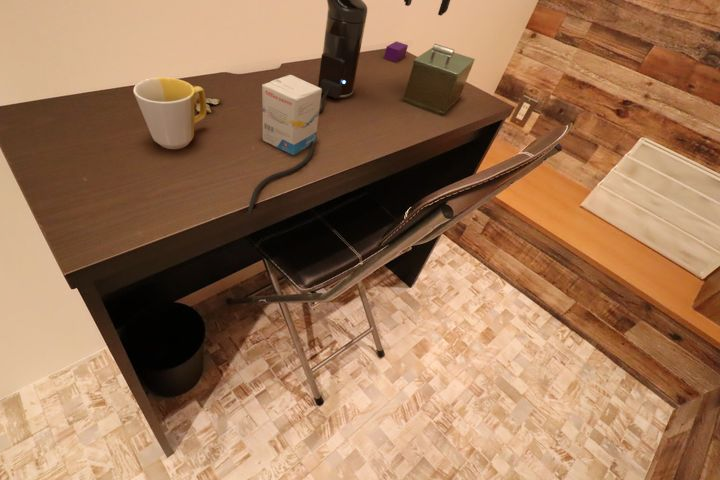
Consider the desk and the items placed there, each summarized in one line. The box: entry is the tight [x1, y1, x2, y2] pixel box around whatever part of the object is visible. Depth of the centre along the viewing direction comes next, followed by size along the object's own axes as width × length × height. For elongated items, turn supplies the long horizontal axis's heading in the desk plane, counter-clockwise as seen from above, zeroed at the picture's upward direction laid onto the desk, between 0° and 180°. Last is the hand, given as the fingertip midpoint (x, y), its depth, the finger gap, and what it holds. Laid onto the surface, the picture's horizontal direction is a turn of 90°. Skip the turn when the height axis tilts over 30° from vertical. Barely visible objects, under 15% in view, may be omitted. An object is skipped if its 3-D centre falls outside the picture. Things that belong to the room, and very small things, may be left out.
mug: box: [132, 76, 207, 150], centre depth 70 cm, size 14×10×10 cm
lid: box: [412, 43, 476, 77], centre depth 93 cm, size 16×12×5 cm
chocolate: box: [383, 41, 409, 63], centre depth 122 cm, size 8×4×4 cm, turn 148°
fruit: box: [191, 84, 221, 114], centre depth 83 cm, size 8×8×4 cm
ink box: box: [261, 74, 322, 156], centre depth 74 cm, size 9×8×12 cm
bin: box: [402, 62, 474, 116], centre depth 99 cm, size 15×12×10 cm
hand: (423, 9), depth 87 cm, fingers open, 8 cm apart
